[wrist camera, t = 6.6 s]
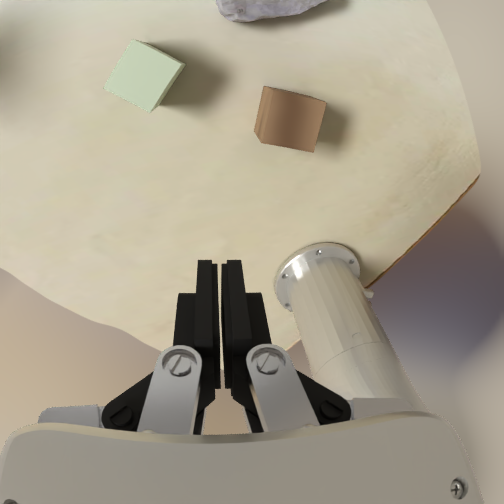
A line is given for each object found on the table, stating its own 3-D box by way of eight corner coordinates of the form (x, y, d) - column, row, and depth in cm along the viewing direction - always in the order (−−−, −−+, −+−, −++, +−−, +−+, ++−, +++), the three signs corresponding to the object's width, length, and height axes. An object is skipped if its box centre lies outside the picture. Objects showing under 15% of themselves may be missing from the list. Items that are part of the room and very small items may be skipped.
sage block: (186, 64, 25) (181, 64, 21) (159, 105, 27) (149, 113, 23) (144, 42, 23) (132, 38, 19) (118, 84, 25) (103, 88, 21)
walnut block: (309, 96, 28) (326, 102, 24) (299, 139, 31) (313, 152, 27) (263, 85, 27) (273, 89, 23) (253, 131, 30) (261, 142, 26)
